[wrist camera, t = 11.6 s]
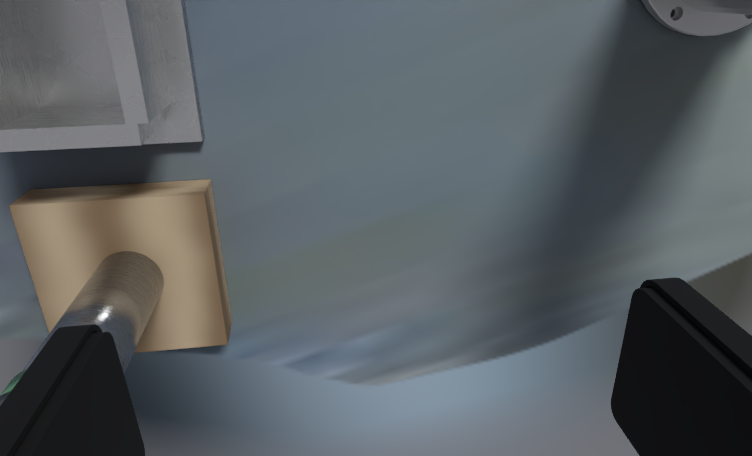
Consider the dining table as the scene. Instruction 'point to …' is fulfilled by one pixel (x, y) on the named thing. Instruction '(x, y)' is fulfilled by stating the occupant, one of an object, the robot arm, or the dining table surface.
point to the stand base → (96, 74)
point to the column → (113, 304)
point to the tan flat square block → (136, 234)
